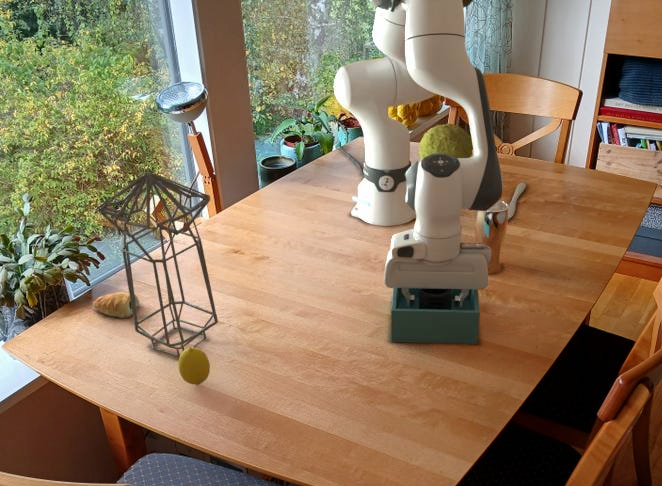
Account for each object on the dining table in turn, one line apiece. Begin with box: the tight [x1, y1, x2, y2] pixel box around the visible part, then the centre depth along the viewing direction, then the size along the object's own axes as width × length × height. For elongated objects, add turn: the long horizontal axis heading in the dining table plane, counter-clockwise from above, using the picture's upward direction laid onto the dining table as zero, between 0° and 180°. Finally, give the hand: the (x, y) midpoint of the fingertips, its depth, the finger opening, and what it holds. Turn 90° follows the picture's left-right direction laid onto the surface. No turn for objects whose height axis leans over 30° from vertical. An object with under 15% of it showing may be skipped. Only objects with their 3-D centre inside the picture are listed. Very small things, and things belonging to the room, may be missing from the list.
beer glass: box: [474, 199, 509, 275], centre depth 163 cm, size 7×7×15 cm
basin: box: [390, 288, 481, 345], centre depth 148 cm, size 17×17×7 cm
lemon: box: [177, 346, 211, 386], centre depth 133 cm, size 6×6×8 cm
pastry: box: [92, 291, 140, 319], centre depth 158 cm, size 9×7×4 cm
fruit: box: [418, 123, 473, 160], centre depth 212 cm, size 16×14×15 cm
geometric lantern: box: [93, 172, 219, 358], centre depth 137 cm, size 16×16×35 cm
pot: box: [419, 288, 452, 310], centre depth 148 cm, size 9×6×7 cm
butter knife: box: [508, 182, 527, 220], centre depth 196 cm, size 1×27×3 cm
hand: (434, 305), depth 148 cm, fingers open, 8 cm apart
